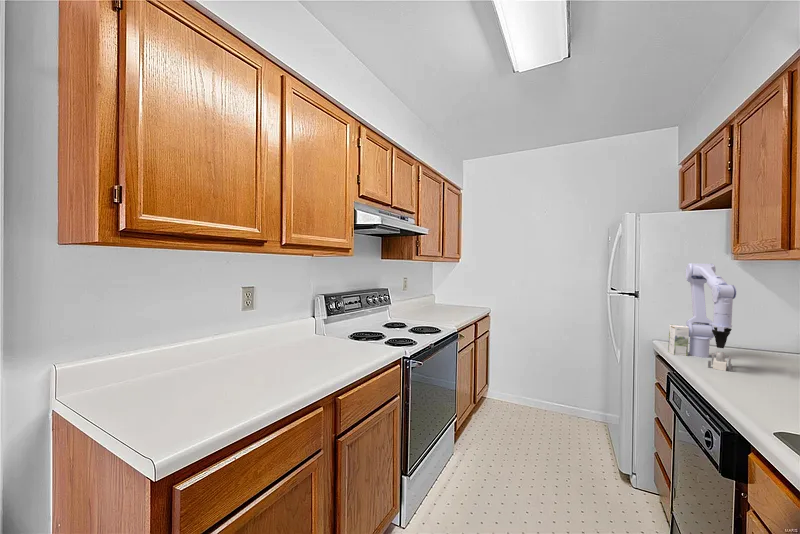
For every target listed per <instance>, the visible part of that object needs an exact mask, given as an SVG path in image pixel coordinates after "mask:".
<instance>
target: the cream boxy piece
mask: <svg viewBox="0 0 800 534" xmlns="http://www.w3.org/2000/svg"><path fill="white" fill-rule="evenodd" d="M714 359H715V353H712V354H711V366H713V361H714ZM729 364H732V356H731V355H728V361H727V368H729Z"/></svg>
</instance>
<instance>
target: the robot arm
mask: <svg viewBox="0 0 800 534" xmlns="http://www.w3.org/2000/svg"><path fill="white" fill-rule="evenodd" d="M685 279H686V282H688V283H689V284H690V292H691V303H692V304H691V305H692V317H690V318H689V319H688V320H686V322H685V326H687V327H689V337H688V338H689V346H688V351H689V352H688V354H689V356H693V357H695V358H696V357H697V358H701V359H702V358H704V359H707V358H710V357H712V354H711V355H710V346H711V345H710V341H711V340H712V339H713V338H714V339H715V340H714V341H715V346H716V348H718V349H724V348H725V346H726V344H727V340H728V337H729V335H730V334H731V331H732V328H733V325H732V321H733V320H732V318H733V303H734V299H735V298H736V297H737V287H736V286H735V285H734V284H728V283H727V281H726V280H724V278H723V277H722V276H721V275H717V274H716V266H715V264H714V263H697V262H696V263H695V262H694V263H692V262H688V263H687V264H686V266H685ZM705 284H706V285H707V286H708V287H709V288H710V289H711V296H712V302H713V315H712V317H713V318H712V319H713V320H711V319H710V318H708V317H707V309H706V308H707V307H706V296H705Z"/></svg>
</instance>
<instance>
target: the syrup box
mask: <svg viewBox="0 0 800 534" xmlns="http://www.w3.org/2000/svg"><path fill="white" fill-rule="evenodd" d="M668 331H669V332H668V347H667V353H670V354H671V355H673V356H681V357H688V354H689V352H688V351H689V338H690V337H689V327H687V326H686V324H670V323H669V329H668Z"/></svg>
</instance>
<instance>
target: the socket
mask: <svg viewBox="0 0 800 534" xmlns="http://www.w3.org/2000/svg"><path fill="white" fill-rule="evenodd" d="M711 362H712V360H708V362H707V368H708V369H711V368H712V364H711ZM732 366H733V365H732V363H731V364H729V367H728V372H732Z"/></svg>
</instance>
